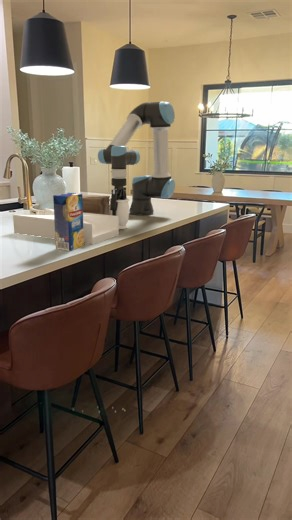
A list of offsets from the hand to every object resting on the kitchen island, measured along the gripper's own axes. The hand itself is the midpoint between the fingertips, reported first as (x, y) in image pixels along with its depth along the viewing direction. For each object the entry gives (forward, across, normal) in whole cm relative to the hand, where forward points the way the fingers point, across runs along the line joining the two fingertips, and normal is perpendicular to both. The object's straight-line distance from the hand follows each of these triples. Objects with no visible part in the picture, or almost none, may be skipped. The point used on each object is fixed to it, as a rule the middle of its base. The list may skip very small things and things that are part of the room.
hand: (119, 221), depth 211 cm
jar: (+4, 0, 0) cm, 4 cm away
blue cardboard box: (+4, +45, -4) cm, 45 cm away
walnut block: (+3, +1, -15) cm, 15 cm away
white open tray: (+4, +23, -18) cm, 29 cm away
